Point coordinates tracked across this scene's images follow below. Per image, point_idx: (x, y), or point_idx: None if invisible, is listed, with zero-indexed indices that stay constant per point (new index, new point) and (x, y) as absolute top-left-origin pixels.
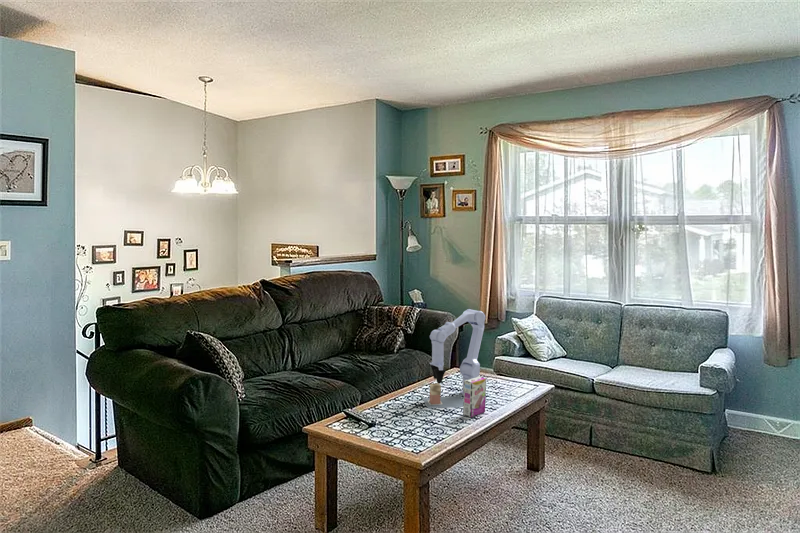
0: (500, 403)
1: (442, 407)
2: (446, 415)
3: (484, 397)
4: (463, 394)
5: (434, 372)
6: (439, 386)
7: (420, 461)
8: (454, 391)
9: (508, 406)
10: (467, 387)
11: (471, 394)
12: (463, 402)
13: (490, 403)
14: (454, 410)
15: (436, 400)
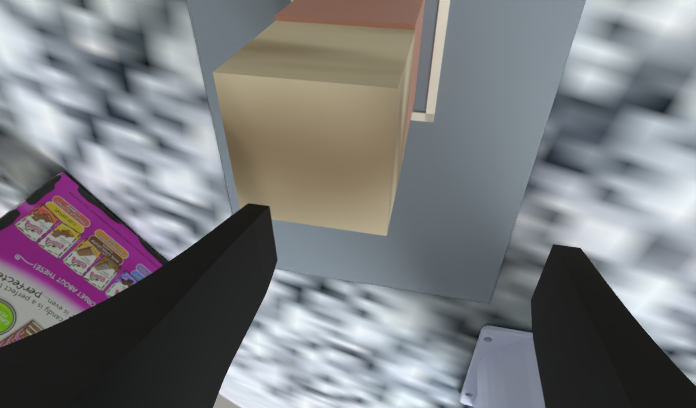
0: (301, 396)
1: (205, 76)
2: (18, 48)
3: None
4: (505, 334)
5: (592, 377)
6: (243, 190)
7: None
8: (657, 320)
9: (254, 398)
10: None
11: None
12: (331, 268)
13: (305, 368)
14: (155, 150)
15: None
